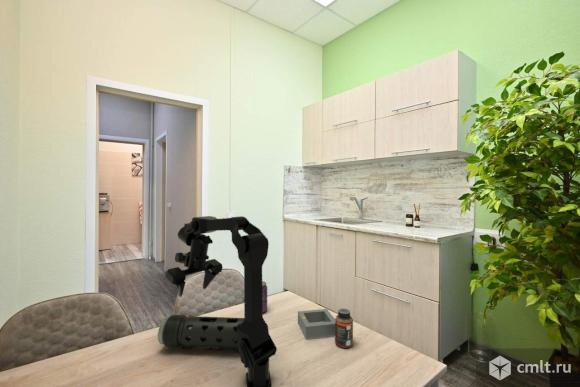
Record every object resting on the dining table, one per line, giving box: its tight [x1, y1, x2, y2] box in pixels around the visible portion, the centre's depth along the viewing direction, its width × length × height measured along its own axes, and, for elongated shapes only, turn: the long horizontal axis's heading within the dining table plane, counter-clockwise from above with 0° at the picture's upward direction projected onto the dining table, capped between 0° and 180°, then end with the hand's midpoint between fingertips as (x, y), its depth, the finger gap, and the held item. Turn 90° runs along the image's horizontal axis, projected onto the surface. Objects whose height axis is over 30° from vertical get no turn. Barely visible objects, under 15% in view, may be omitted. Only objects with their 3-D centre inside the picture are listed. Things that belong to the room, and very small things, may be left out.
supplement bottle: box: [334, 308, 354, 349], centre depth 90 cm, size 6×6×11 cm
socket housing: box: [297, 308, 335, 340], centre depth 100 cm, size 12×12×5 cm
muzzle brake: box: [157, 314, 244, 351], centre depth 88 cm, size 10×28×10 cm, turn 87°
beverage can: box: [262, 280, 268, 314], centre depth 114 cm, size 7×7×12 cm
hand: (192, 292), depth 94 cm, fingers open, 9 cm apart
